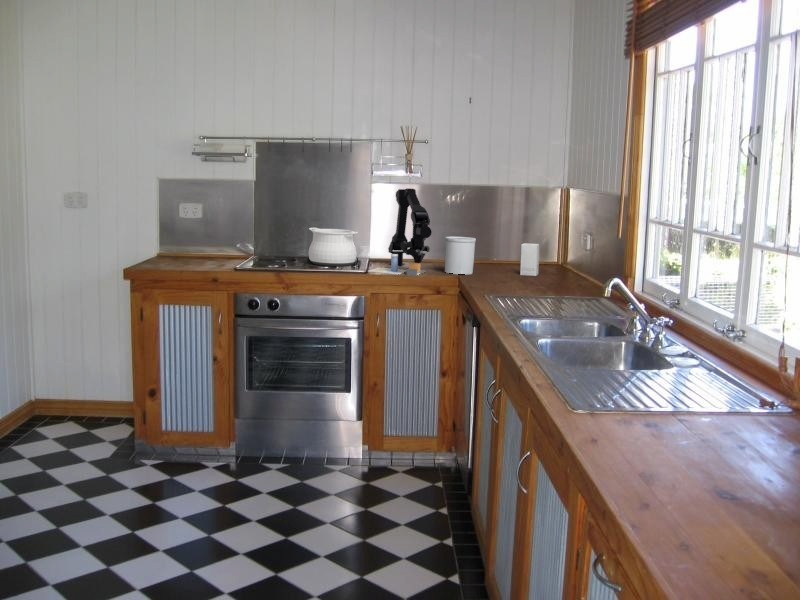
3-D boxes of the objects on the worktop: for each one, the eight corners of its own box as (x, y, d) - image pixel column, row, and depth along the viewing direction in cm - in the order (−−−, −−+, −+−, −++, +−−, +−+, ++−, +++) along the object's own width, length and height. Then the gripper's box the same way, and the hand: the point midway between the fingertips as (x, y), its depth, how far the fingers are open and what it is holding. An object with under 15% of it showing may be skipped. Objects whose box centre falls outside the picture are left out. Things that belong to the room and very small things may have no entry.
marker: (391, 270, 431) (391, 253, 430) (398, 270, 430) (398, 254, 429) (390, 271, 428) (390, 254, 427) (397, 271, 427) (397, 254, 426)
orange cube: (411, 270, 427) (411, 262, 427) (420, 271, 426) (420, 263, 425) (408, 271, 424) (409, 263, 423) (417, 272, 422) (417, 264, 422)
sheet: (378, 268, 441) (378, 267, 441) (409, 271, 436) (409, 270, 436) (367, 271, 427) (367, 270, 427) (398, 274, 422) (398, 273, 422)
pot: (295, 263, 448) (296, 228, 445) (324, 259, 468) (325, 226, 466) (340, 269, 433) (342, 233, 430) (368, 264, 454) (369, 230, 451)
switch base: (415, 271, 435) (416, 265, 434) (425, 272, 433) (425, 266, 433) (406, 274, 422) (406, 268, 421) (416, 275, 420) (416, 269, 420)
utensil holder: (448, 270, 446) (450, 235, 443) (477, 272, 441) (479, 237, 438) (439, 273, 432) (441, 237, 429) (469, 276, 427) (471, 240, 424)
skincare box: (538, 274, 442) (540, 243, 439) (536, 276, 436) (538, 245, 433) (521, 273, 444) (523, 242, 442) (519, 275, 438) (521, 243, 436)
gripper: (408, 233, 436) (407, 264, 439) (396, 236, 419) (395, 269, 422) (430, 234, 433) (429, 266, 436) (418, 238, 415) (417, 271, 418)
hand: (417, 268), depth 428 cm, fingers closed
